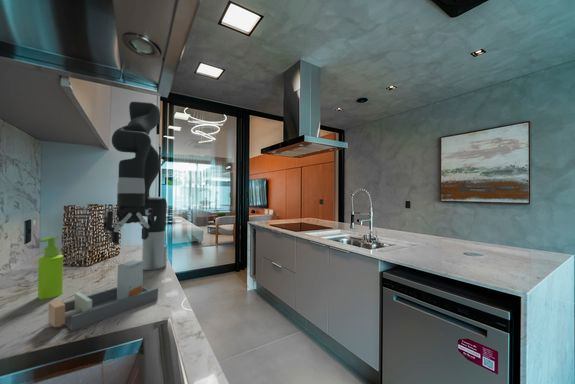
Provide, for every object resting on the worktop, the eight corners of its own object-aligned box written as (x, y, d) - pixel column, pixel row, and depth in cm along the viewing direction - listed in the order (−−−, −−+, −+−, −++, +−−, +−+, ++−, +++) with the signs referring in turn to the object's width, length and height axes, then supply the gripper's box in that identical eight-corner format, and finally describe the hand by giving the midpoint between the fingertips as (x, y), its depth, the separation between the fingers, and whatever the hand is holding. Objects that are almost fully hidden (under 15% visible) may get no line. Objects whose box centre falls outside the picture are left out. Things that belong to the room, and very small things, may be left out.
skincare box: (127, 303, 74) (128, 265, 74) (116, 302, 75) (117, 264, 75) (143, 295, 80) (143, 260, 80) (132, 294, 81) (133, 259, 81)
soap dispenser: (30, 301, 76) (31, 239, 76) (47, 292, 83) (48, 235, 83) (51, 300, 77) (52, 238, 77) (66, 291, 84) (67, 235, 84)
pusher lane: (139, 290, 85) (139, 280, 85) (157, 299, 79) (157, 288, 79) (56, 317, 67) (56, 304, 67) (72, 330, 60) (72, 316, 60)
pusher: (78, 308, 70) (79, 291, 70) (91, 318, 65) (92, 299, 65) (45, 319, 64) (46, 300, 64) (57, 330, 59) (57, 310, 59)
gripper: (147, 192, 85) (146, 236, 85) (100, 191, 73) (99, 243, 73) (159, 192, 81) (158, 239, 81) (111, 192, 69) (110, 247, 69)
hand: (130, 241), depth 77 cm, fingers open, 8 cm apart
